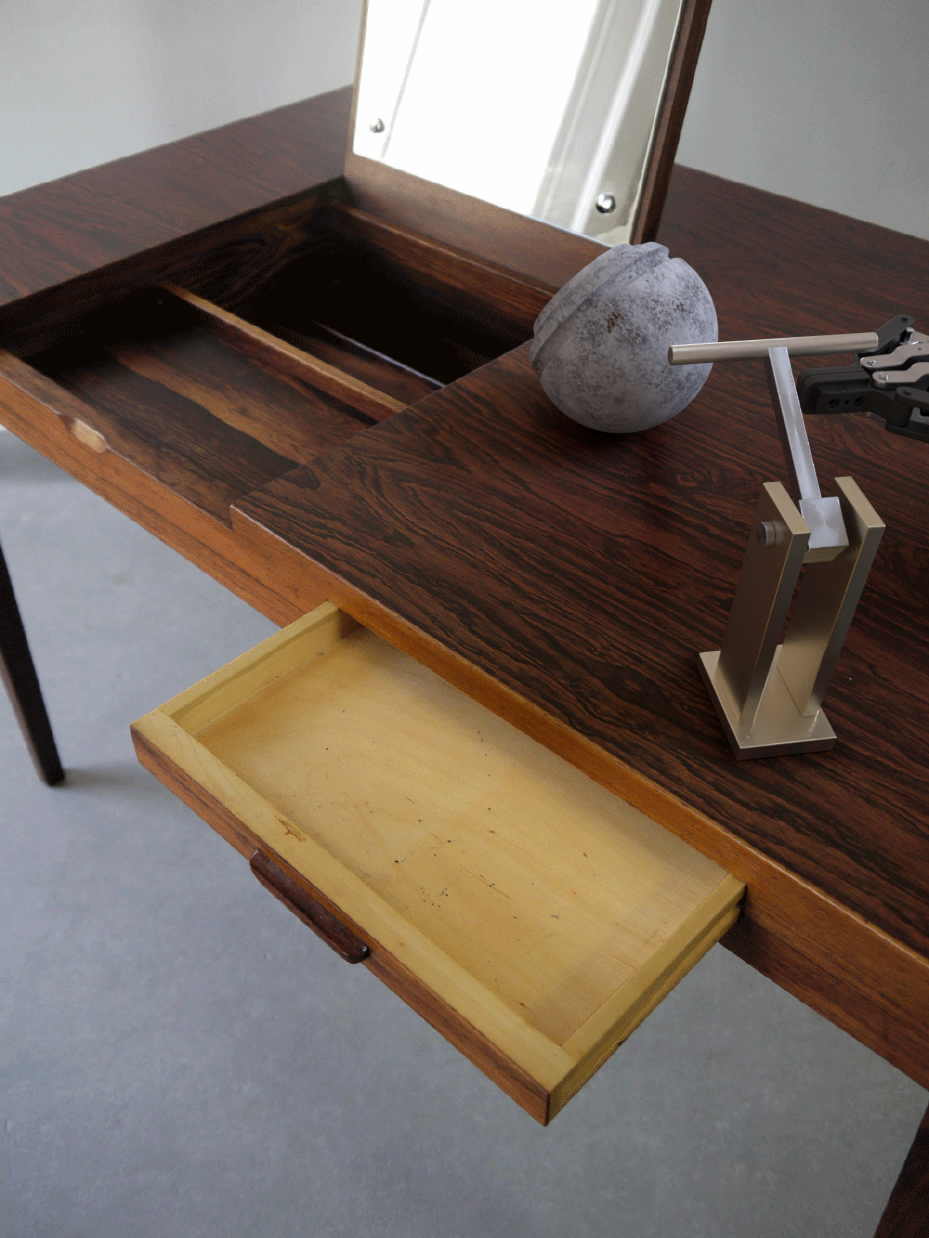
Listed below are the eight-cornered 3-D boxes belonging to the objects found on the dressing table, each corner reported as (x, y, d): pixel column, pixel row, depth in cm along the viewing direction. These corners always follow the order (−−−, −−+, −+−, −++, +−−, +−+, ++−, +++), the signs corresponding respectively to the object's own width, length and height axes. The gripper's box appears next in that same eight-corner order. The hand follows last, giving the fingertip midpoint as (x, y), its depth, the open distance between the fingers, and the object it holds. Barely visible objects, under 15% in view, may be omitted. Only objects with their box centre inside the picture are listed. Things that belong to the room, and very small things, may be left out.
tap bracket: (695, 665, 68) (742, 463, 57) (783, 656, 69) (846, 455, 58) (736, 761, 63) (797, 557, 52) (832, 750, 63) (912, 547, 52)
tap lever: (662, 358, 60) (674, 335, 58) (862, 345, 61) (881, 322, 59) (704, 572, 56) (718, 557, 54) (916, 553, 58) (938, 537, 55)
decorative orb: (599, 357, 97) (617, 193, 87) (734, 416, 90) (772, 246, 80) (492, 421, 89) (498, 249, 79) (632, 492, 82) (659, 314, 72)
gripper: (1038, 264, 66) (773, 280, 64) (1172, 373, 56) (865, 396, 54) (995, 371, 71) (748, 389, 69) (1111, 487, 61) (829, 512, 59)
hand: (801, 392), depth 62 cm, fingers closed
